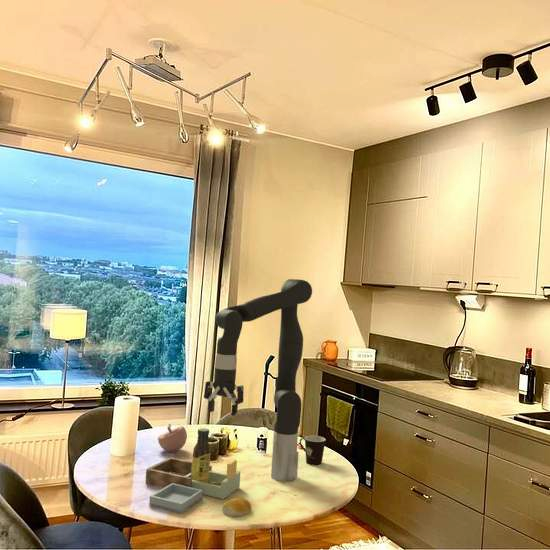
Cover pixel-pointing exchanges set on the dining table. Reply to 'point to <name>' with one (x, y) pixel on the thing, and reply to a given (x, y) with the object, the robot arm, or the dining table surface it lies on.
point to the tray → (176, 498)
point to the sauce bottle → (201, 457)
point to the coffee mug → (314, 449)
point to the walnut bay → (163, 478)
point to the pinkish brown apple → (173, 439)
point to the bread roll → (237, 507)
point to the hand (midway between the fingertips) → (222, 413)
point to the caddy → (220, 482)
